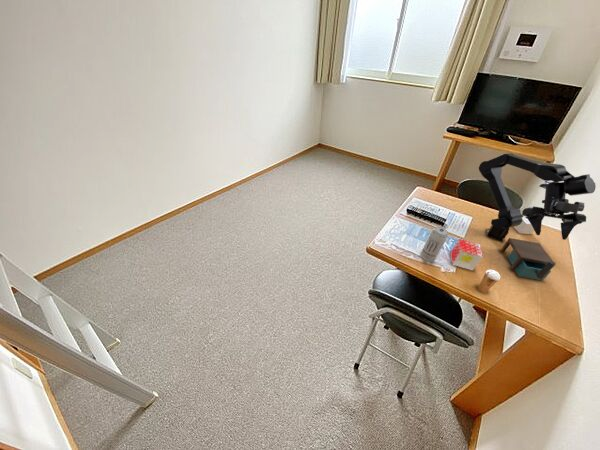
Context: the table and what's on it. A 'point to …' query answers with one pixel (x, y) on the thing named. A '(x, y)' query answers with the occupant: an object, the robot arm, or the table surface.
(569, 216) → the robot arm
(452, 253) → the red patterned cube box
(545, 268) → the drawer
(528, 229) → the white cube
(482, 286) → the milkshake
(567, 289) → the table surface
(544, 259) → the brown drawer cabinet
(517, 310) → the table surface
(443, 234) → the energy drink can
